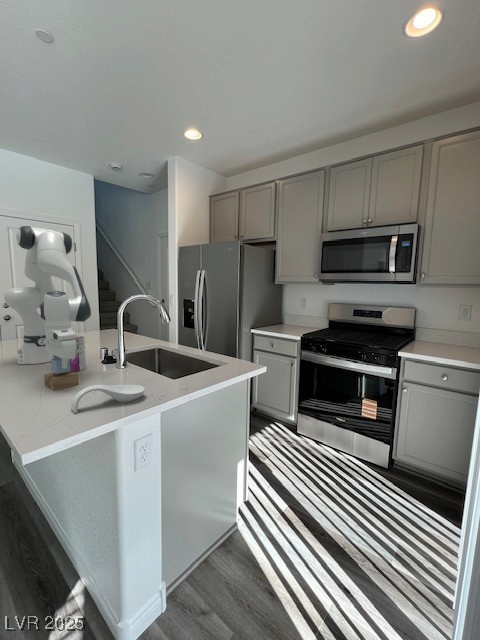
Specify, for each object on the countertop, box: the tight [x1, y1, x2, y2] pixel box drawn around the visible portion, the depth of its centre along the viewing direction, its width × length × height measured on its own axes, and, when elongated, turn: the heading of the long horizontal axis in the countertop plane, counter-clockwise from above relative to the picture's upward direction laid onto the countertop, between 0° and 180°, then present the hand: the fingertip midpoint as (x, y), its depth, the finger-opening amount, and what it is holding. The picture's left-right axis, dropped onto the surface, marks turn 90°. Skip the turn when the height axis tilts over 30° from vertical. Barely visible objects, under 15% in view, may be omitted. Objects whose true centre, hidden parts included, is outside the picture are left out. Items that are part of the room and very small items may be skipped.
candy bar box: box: [59, 335, 87, 372], centre depth 140 cm, size 11×5×16 cm, turn 84°
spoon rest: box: [70, 384, 146, 414], centre depth 102 cm, size 24×12×7 cm, turn 131°
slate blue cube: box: [50, 358, 70, 374], centre depth 119 cm, size 5×5×5 cm
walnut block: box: [43, 371, 79, 392], centre depth 119 cm, size 9×9×5 cm
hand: (60, 366), depth 119 cm, fingers closed on slate blue cube, 5 cm apart
